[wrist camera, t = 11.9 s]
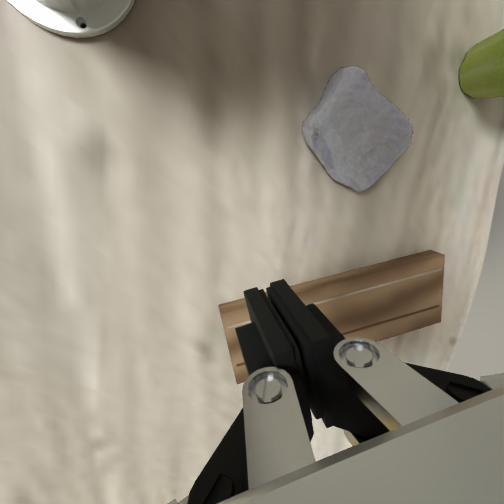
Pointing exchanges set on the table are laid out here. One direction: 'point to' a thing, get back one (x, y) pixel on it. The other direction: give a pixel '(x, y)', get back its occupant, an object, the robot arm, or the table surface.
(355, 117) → the stone block
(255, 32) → the table surface
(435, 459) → the robot arm
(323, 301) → the walnut board
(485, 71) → the plant pot
